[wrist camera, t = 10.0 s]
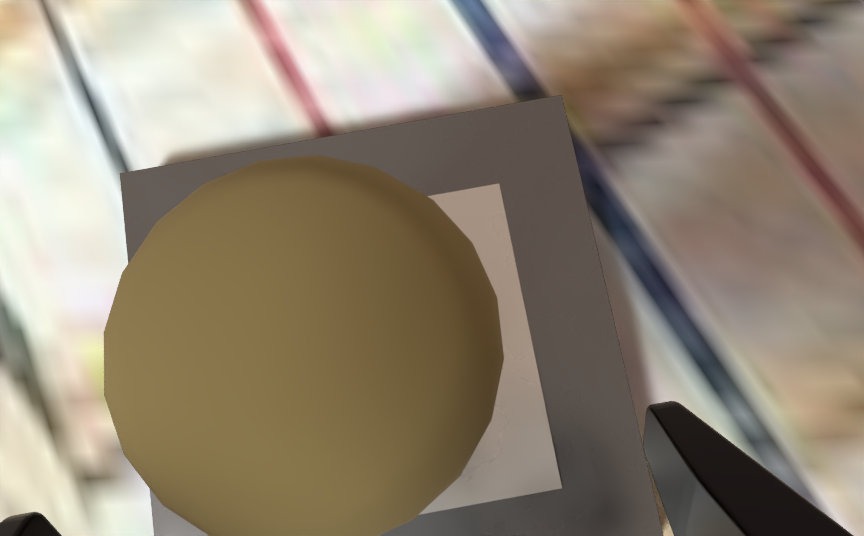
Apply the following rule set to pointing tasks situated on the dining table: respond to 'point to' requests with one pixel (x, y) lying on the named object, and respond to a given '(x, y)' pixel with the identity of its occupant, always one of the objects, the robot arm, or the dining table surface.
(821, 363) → the dining table surface
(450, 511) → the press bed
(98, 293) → the dining table surface
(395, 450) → the cork
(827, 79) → the dining table surface
